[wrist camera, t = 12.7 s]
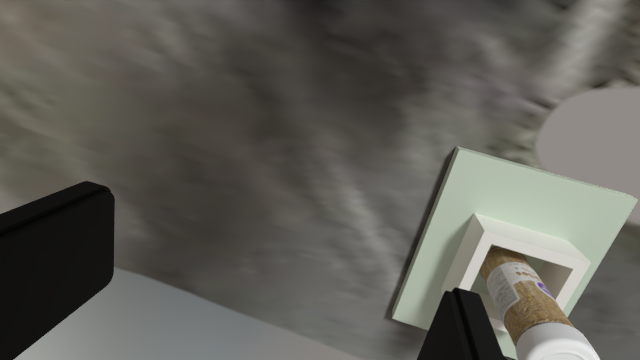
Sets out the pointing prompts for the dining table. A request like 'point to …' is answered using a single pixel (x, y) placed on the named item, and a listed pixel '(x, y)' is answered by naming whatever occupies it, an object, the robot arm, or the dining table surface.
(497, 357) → the robot arm
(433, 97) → the dining table surface
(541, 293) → the sprinkles bottle
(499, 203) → the chute mount
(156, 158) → the dining table surface
